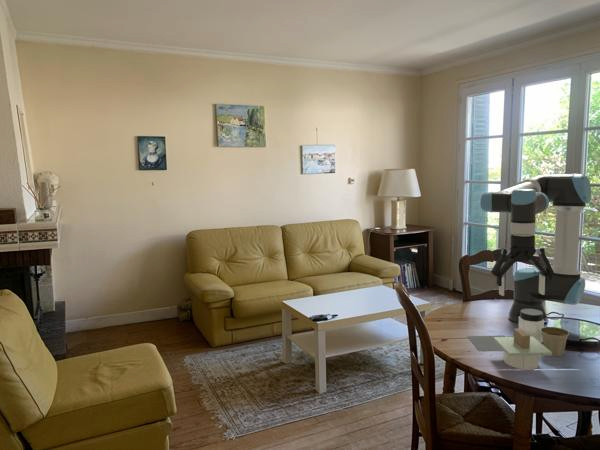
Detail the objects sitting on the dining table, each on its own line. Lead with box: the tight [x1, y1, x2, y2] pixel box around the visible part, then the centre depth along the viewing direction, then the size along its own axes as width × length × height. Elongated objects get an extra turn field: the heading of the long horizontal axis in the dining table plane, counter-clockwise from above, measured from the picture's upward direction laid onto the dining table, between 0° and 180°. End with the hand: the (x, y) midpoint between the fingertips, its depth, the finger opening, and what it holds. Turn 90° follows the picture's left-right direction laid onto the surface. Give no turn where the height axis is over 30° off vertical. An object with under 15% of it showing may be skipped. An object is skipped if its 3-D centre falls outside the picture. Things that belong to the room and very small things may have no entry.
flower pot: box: [540, 326, 570, 357], centre depth 163 cm, size 9×9×9 cm
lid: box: [494, 328, 553, 357], centre depth 155 cm, size 14×14×6 cm
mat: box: [466, 335, 506, 352], centre depth 173 cm, size 15×15×1 cm
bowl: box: [502, 351, 540, 372], centre depth 156 cm, size 11×11×6 cm
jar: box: [518, 309, 545, 344], centre depth 174 cm, size 9×8×12 cm
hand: (521, 294), depth 155 cm, fingers open, 13 cm apart
